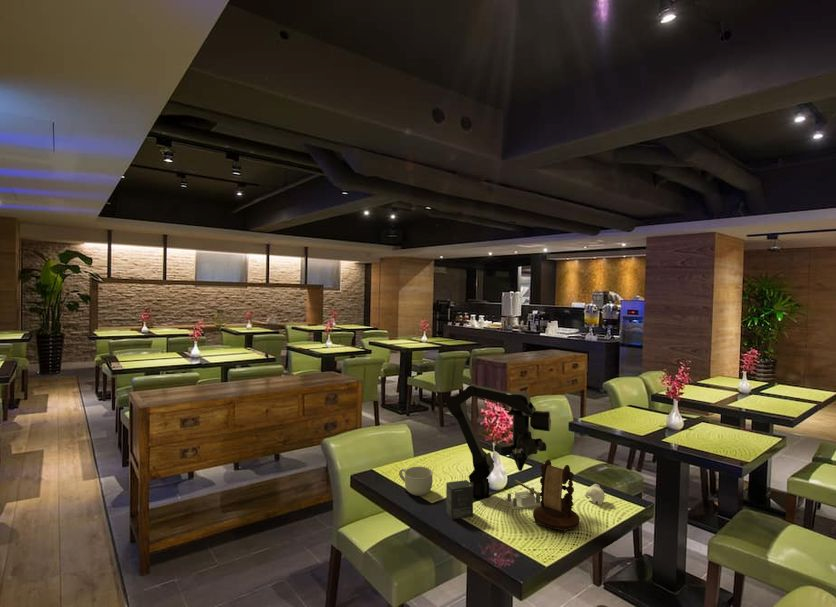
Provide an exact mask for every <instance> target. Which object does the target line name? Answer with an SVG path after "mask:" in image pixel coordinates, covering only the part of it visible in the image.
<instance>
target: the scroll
mask: <svg viewBox="0 0 836 607" xmlns="http://www.w3.org/2000/svg"><path fill="white" fill-rule="evenodd" d="M540 472H541V476H540V477H541V478H540V479H539V483H540V485H541V487H540V501H541V503H540V504H541V506H537V507H534V509H533V511H532V517H533V520H534V523H535V524H537V523H538V524H540V525H542V526H544V527H546V528H551V529H554V530H561V533H563V534H565V532H566V530H572V529H575V528H578V526H580V523H581V520H580V516H579V514H578V513H577V512H575V511H574V510H573V506H574V501H573V494H574V491H575V487H573V486H574V483H573V481H574V477H575V474H574V473H573V472H572V471H571V467H570V466H569V465H568V464H566V465H564V467H563V468H561V467H557V466H553V465H552V462H551V460H550V459H547V460H546V461H545V462H544V463H543V464H541V465H540ZM566 485H568V486H566ZM563 491H566V492H567V493H565V494H564V496H563V497H562V493H563Z"/></svg>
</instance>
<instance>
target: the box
mask: <svg viewBox="0 0 836 607" xmlns="http://www.w3.org/2000/svg"><path fill="white" fill-rule="evenodd" d="M445 486H446V489H445V492H446V493H445V494H446V497H445V499H446V502H445V503H446V504H445V505H446V506H445V507H446V508H445V512H446V514H447V515H448V516H449V518H450V519H451V520H452V521H453V520H456V519H457V520H458V519H464V518H471V517H474V498H473V485H472V484H471V483H470V481H469V480H467V479H464V480H457V481H449V482H446V484H445Z"/></svg>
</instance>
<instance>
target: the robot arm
mask: <svg viewBox="0 0 836 607" xmlns="http://www.w3.org/2000/svg"><path fill="white" fill-rule="evenodd" d="M472 397H476V398H480V399H484V400H489V401H494V402H498V403H502V404H504V405H506V406H508V407H509V408H511V409H510V410H509V411H508V412H506V413H507V414H506V415H509V416H512V428H510V432H512V439H510V443H511V444H508V443H506V442H496V443H495V444H494V447H493V449H494V452H496V453H497V454H499V455H500V456H502V457H503V456H510V455H511V456H512V457H513V460H514V462H515V465H516V468H517V470H518V471H519V472H522V471H523V470H524V466H525V464H526V461H527V459H528V457H529V456H531V455H537V454H538V451H539V452H547V444H546V442H545V441H543V439H542V438H541V437H540V438H533V437H532V431H530V427H531V428H532V430H535V431H544V432H551V428H552V419H551V412H550V411H547V410H545V411H543V410H542V411H541V410H537V409H536V407H535V406H534V404H533V402H532V401H531V396H530V395H529V394H528V392H526V391H520V390H519V391H517V390H515V391H514V390H513V391H505V390H501V389H495V388H492V387H487V386H482V385H478V384H476V383H475V384H474V383H472V384H470V385H468V386H467V387H466V388H465V389H464V390H462V391H460V392H459V393H458V392H457V393H456V392H455V393H454V394H452V395H450V396H448V397H447V399H446V401H445V406H446V408H447V410H448V411H449V413H450V415H451V416H452V417H453V418H454V419H456V421H457V423H458V425H459V426H458V427H459V429H460V430H461V432H462V434H463V438H464V440H465V442H466V444H467V447H468V449H469V452H470V453H471V459H472V465H473V471H471V473H470V474H469V475H468V479H469V480H468V481H469V483H471V484H472V485H473V500H481V499H488V498H491V495H490V482H489V479H488V478H489V477H490V475H491V474H492V473H493V471H494V468H495V464H494V463H495V460H494V459H493V458H492V454H491V452H490V451H489V452H486V451H485V450H484V449H483V447H482V444H481V442H480V440H479V437H478V436H477V433H476V431H475V429H474V426H473V424H472V422H471V419H470V417H469V414H468V405H467V402H466V401H467V400H469V399H470V398H472Z"/></svg>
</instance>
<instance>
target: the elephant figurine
mask: <svg viewBox="0 0 836 607" xmlns="http://www.w3.org/2000/svg"><path fill="white" fill-rule="evenodd" d="M606 496H607V494H605V492H604V490H603V489H602V488H601V487H600V484H598V483H594V484H592V485H591V486H589V487H588V489H587V490H586V492H585V493H584V497H585V498H586V499H590V498H591V503H592V504H598V505H599V506H601V505H602V504H603V502H604V501H605V498H606Z"/></svg>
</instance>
